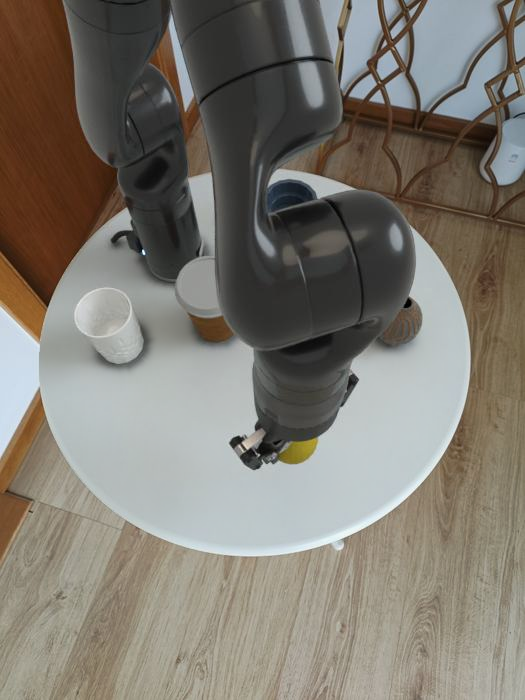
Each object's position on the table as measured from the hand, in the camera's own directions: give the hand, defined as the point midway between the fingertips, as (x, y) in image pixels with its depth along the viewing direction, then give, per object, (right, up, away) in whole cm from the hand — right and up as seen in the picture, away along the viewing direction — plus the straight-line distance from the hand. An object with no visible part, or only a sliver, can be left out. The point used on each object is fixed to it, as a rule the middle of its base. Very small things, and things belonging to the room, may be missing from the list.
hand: (292, 438), depth 59 cm
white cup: (-25, +11, +23) cm, 36 cm away
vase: (+17, +12, +23) cm, 31 cm away
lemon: (0, -2, +3) cm, 4 cm away
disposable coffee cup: (-10, +14, +24) cm, 30 cm away
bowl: (+1, +32, +33) cm, 46 cm away
